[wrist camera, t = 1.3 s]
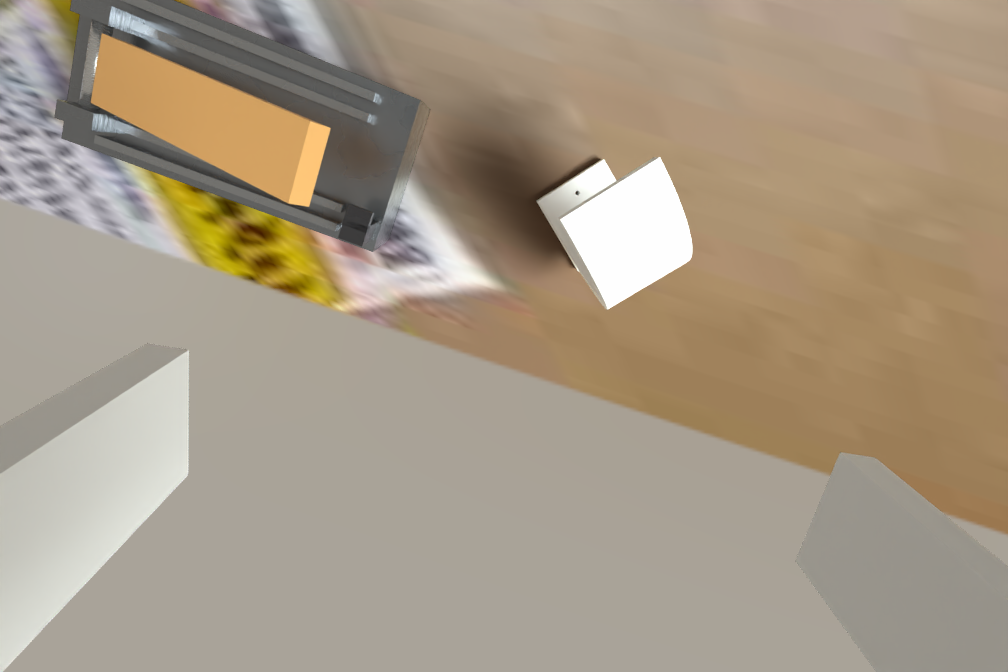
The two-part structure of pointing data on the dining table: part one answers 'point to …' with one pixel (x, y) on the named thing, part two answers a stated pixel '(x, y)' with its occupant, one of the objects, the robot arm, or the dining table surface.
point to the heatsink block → (269, 76)
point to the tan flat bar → (211, 120)
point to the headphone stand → (620, 227)
